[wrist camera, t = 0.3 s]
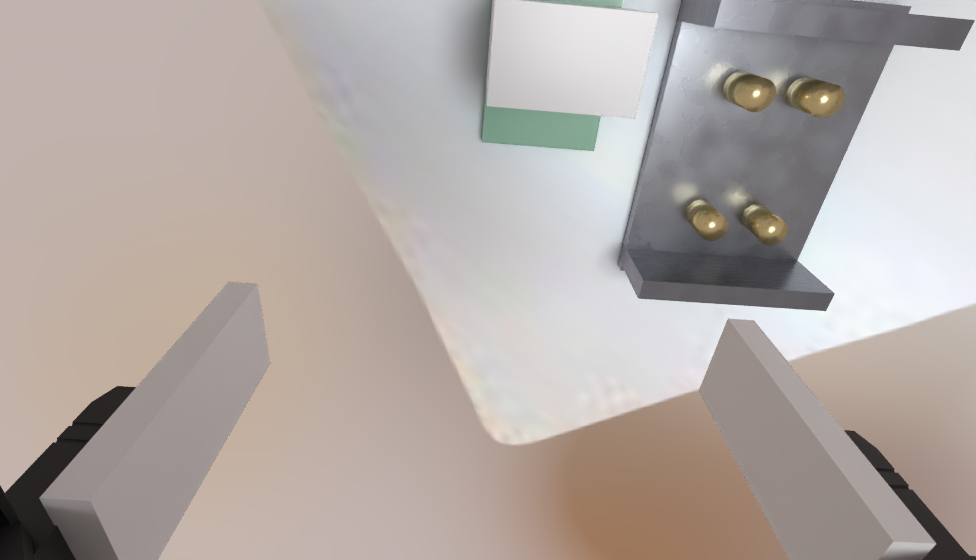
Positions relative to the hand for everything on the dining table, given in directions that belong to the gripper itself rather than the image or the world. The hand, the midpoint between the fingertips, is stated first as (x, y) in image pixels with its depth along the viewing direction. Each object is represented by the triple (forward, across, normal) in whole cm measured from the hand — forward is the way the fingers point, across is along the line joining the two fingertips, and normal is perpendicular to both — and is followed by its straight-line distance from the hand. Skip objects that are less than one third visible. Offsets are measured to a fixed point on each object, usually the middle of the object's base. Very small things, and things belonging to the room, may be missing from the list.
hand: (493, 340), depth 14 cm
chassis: (+25, +19, 0) cm, 31 cm away
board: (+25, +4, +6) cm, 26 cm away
